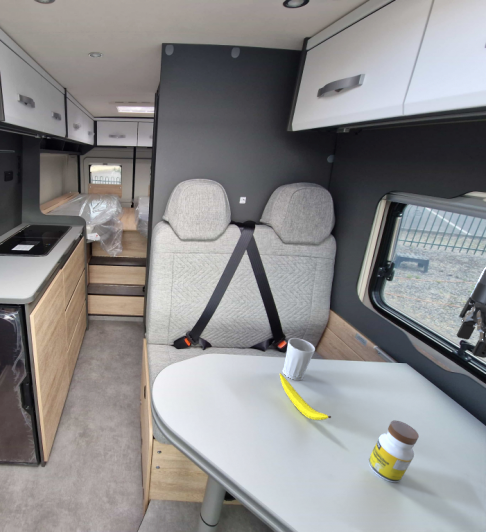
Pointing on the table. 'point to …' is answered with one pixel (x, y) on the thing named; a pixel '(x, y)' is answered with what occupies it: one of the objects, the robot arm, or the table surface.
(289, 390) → the banana
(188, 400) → the table surface
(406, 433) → the brown bottle cap
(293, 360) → the cup
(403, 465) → the pill bottle
